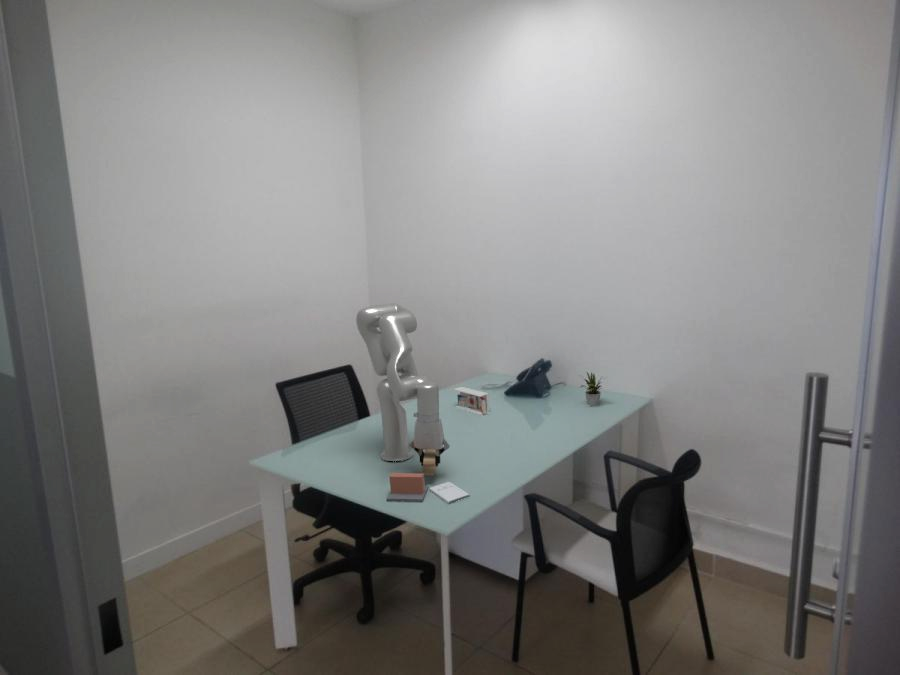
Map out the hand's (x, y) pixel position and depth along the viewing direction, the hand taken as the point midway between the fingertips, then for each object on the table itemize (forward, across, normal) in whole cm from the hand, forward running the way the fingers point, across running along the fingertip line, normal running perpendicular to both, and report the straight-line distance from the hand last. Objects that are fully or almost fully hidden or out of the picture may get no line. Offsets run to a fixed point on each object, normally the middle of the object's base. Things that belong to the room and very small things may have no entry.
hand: (430, 464), depth 202 cm
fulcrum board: (+4, -5, -15) cm, 16 cm away
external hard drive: (+4, +9, -13) cm, 17 cm away
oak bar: (+1, 0, 0) cm, 1 cm away
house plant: (+6, +62, +81) cm, 103 cm away
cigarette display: (+8, +6, +74) cm, 74 cm away
